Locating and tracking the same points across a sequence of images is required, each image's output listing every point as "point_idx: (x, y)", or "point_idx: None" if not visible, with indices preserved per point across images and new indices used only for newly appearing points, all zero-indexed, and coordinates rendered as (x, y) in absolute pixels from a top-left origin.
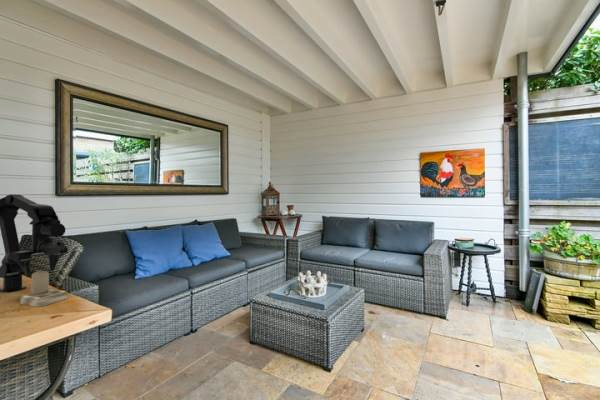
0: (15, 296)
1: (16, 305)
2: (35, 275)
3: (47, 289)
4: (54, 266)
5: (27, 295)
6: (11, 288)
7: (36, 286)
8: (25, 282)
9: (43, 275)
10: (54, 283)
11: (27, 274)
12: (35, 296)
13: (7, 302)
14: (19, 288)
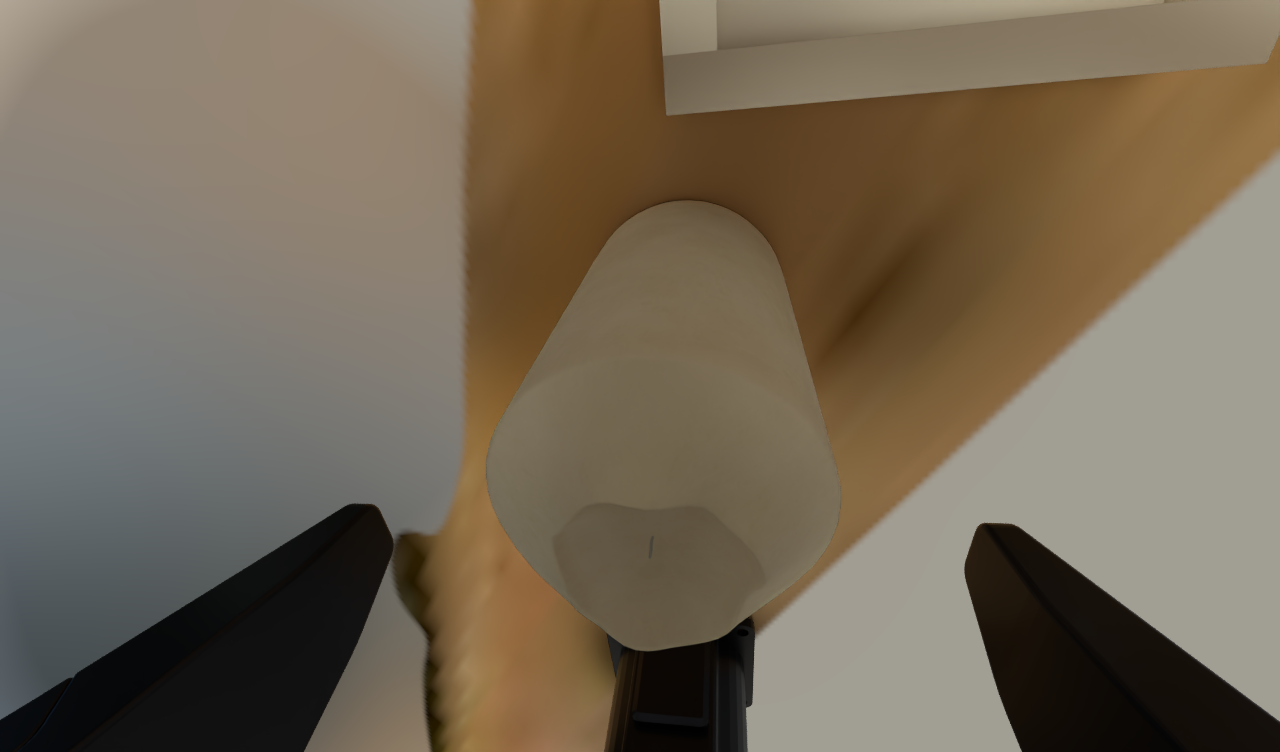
0: None
1: None
2: (821, 475)
3: (709, 84)
4: (245, 585)
5: (1166, 5)
6: (719, 651)
7: (785, 304)
8: (520, 716)
9: (688, 352)
10: None
11: (1060, 560)
12: (960, 22)
13: (1064, 328)
14: None
